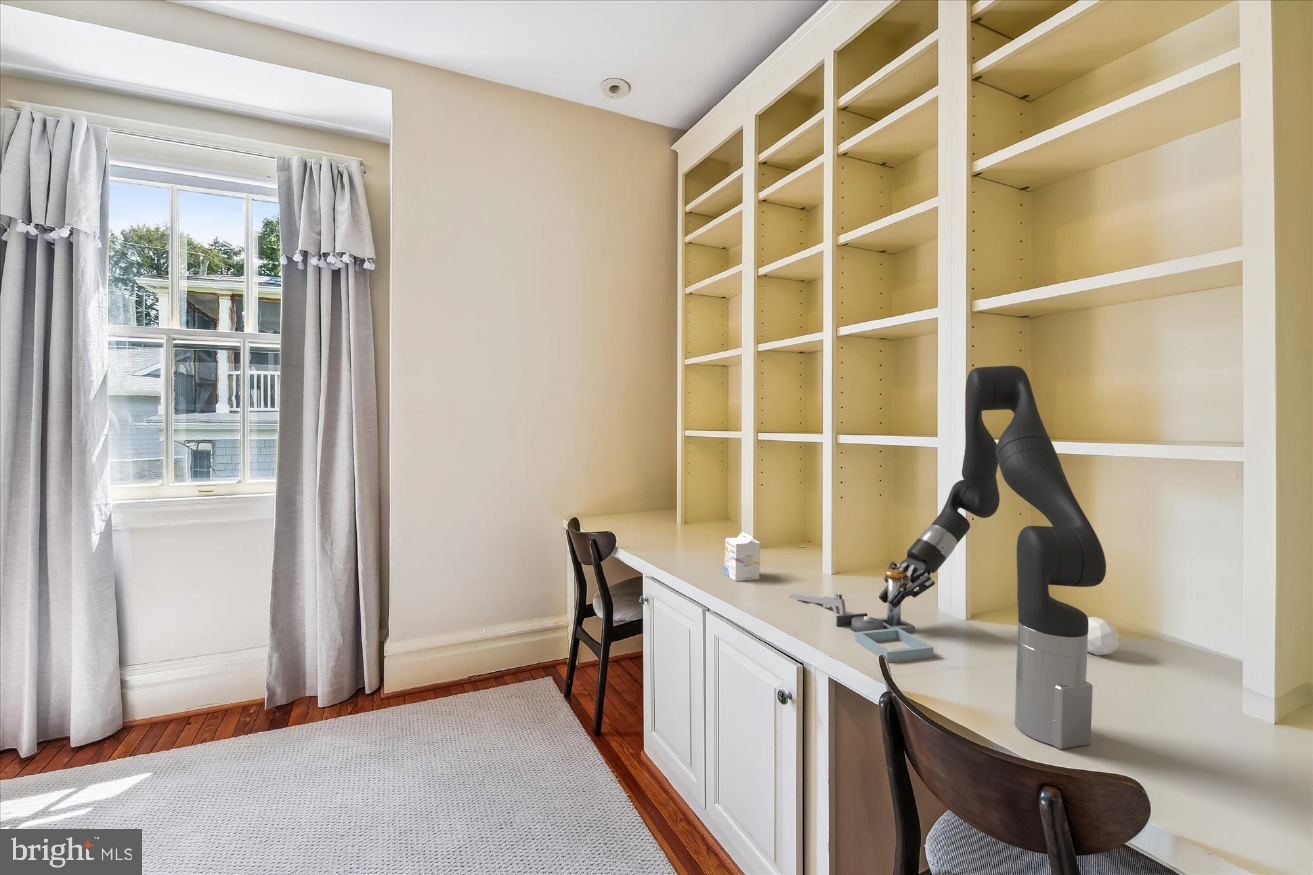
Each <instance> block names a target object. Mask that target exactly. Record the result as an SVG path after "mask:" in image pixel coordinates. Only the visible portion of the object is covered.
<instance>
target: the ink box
mask: <svg viewBox="0 0 1313 875" xmlns="http://www.w3.org/2000/svg"><path fill="white" fill-rule="evenodd" d="M724 544H725V547H724V575H725V576H727V577H729V578H730V579H731V580H733V581H735V582H741V581H743V582H744V581H755V580H760V566H761V565H760V562H761V560H760V558H761V542H760V541H757V540H756V539H754V538H753V536H751V535H750V534H747V533H746V532H743V531H742V532H741V533H740V534H739V535H738V536H737V537H726V538H725V543H724Z"/></svg>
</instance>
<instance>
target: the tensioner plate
mask: <svg viewBox="0 0 1313 875" xmlns="http://www.w3.org/2000/svg"><path fill="white" fill-rule="evenodd" d="M835 623H836V624H835V625H836V627H845V628H847V629H848V630H850V631H853V633H855V632H863V631H873V630H883V629H893V628H899V629H901V630H903V631H905V632H907V633H908V634H910V635H919V634H920V633H919V632H918V631H916V626H915V625H913V624H912V623H909V622H907V621H906V620H903V619H902V618H901V626H892V627H891V626H890V625H888V624H887V616H885V617H877V618H875V617H871V616H868V613H867V612H861V613H853V614H851V613H850V614H845V615H840V614H839V615H836V622H835Z"/></svg>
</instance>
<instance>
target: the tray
mask: <svg viewBox="0 0 1313 875" xmlns="http://www.w3.org/2000/svg"><path fill="white" fill-rule="evenodd" d="M854 633H855V635H854V636H855V638H854V642H855V643H857V644H859V645H860V646H861V647H863V648H865V649H866V650H867V651H869V652H870V653H872V654H874V655H875V656H876V657H878V658H879V656H880V655H881V654H883V655H884V656H886V658H887V662H886V663H894V662H903V661H912V660H920V659H928V658H929V659H930V658H934V646H931V645H930V644H929V643H926V641H923V640H922V639H919V638H917V636H914V635H913V634H911V635H910V634H908V633H907V632H905V631H903V630H901V629H899V628H893V629H883V630H873V631H863V632H854ZM890 640H891V641H892V640H898V641H900V642H901V643H904V644H906V645H907V646H909V647H904V648H895V649H888V648H886V647H884V646H882V645H881V644H880V643H878V642H882V641H890Z"/></svg>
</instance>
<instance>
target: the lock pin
mask: <svg viewBox="0 0 1313 875" xmlns="http://www.w3.org/2000/svg"><path fill="white" fill-rule="evenodd" d="M885 576H887V577H888V597H887V603H886V604H887V605H886V612H887V613H886V617H887V624H888V625H890V626H891V627H892V626H901V619H902V603H901V604H900V605H899V606H897V608H894V607H892V606H891V605H890V604H889V600H890V599H891V597H892V596H893V595H894V594H895V593H896V591H897V590H899V589H900V587H901V585H902V580H903V579H902V578H905V572H904V571H902V570H897V569H888V568H887V569H884V577H885ZM899 591H900V590H899Z"/></svg>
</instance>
